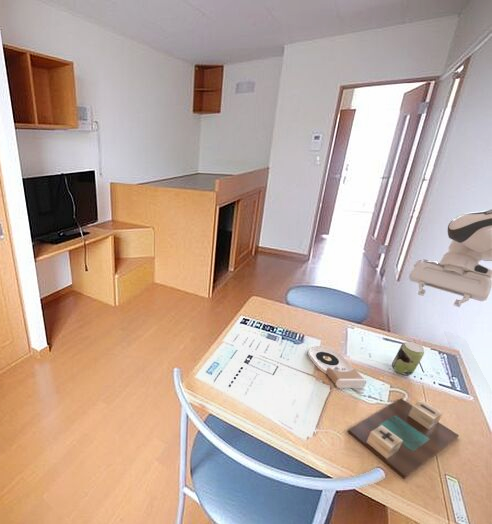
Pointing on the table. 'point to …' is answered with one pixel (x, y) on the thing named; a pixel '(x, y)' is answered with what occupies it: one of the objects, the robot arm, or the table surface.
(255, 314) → the table surface
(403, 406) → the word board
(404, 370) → the beverage can
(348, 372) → the record player
